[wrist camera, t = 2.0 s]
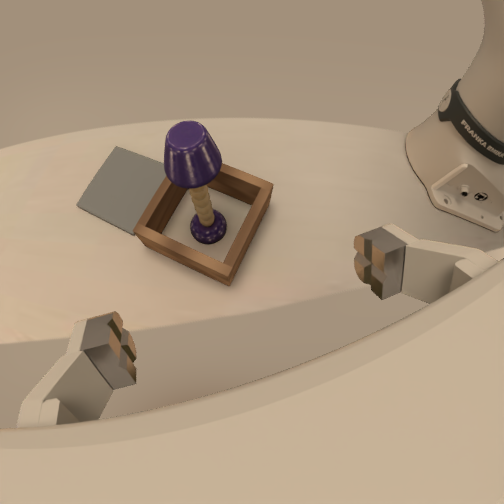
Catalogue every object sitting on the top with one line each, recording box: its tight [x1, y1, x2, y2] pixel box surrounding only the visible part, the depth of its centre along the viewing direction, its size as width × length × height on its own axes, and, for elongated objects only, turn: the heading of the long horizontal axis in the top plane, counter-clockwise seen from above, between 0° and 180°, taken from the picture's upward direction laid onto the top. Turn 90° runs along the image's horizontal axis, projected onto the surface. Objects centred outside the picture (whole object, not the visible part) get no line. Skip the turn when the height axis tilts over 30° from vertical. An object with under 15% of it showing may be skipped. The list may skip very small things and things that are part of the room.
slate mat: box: [77, 146, 166, 235], centre depth 37 cm, size 10×10×1 cm
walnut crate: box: [133, 163, 274, 286], centre depth 33 cm, size 11×11×5 cm
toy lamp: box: [164, 121, 227, 244], centre depth 28 cm, size 5×5×17 cm
